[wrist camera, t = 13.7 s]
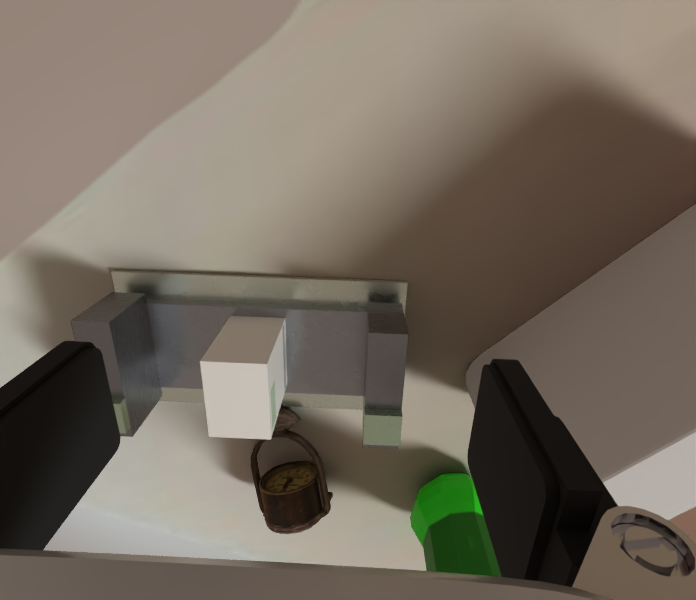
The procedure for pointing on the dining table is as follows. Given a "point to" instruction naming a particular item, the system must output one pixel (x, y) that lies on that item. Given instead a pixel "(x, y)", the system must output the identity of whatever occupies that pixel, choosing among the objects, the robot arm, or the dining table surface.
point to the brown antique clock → (291, 484)
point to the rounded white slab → (623, 368)
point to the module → (245, 377)
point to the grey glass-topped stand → (254, 301)
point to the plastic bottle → (453, 527)
